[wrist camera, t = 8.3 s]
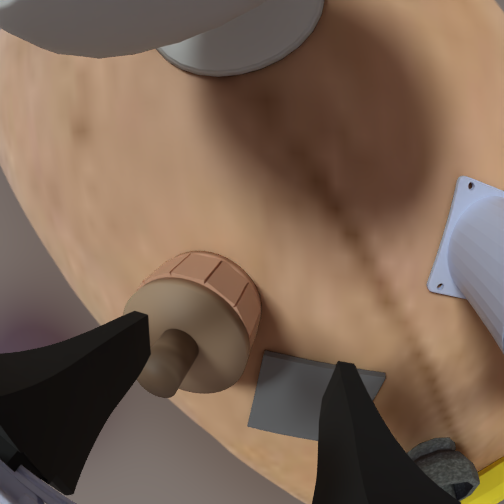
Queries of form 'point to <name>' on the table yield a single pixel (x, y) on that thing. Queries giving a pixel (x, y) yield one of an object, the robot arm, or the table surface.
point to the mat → (296, 394)
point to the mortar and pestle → (446, 467)
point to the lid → (189, 338)
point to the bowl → (217, 283)
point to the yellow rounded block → (489, 485)
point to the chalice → (168, 29)
